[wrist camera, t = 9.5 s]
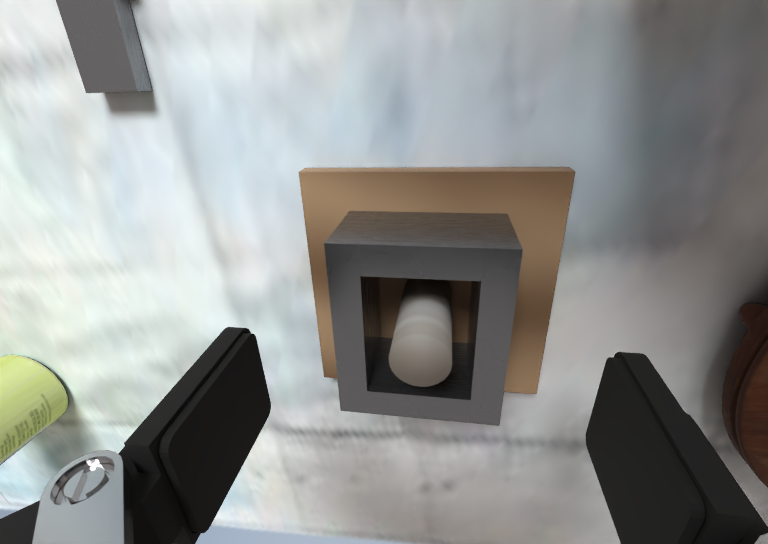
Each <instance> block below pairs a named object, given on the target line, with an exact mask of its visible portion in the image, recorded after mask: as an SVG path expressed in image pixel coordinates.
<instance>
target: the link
mask: <svg viewBox="0 0 768 544" xmlns="http://www.w3.org/2000/svg"><path fill="white" fill-rule="evenodd" d="M324 248H325V258H326V268H327V278H328V288H329V298H330V308H331V318H332V328H333V338H334V348H335V358H336V368H337V378H338V388H339V398H340V408H341V411H351V412H361V413H372V414H382V415H393V416H403V417H414V418H424V419H434V420H445V421H455V422H466V423H476V424H487V425H497V426H499V423H500V416H501V409H502V401H503V394H504V386H505V379H506V372H507V364H508V357H509V349H510V342H511V334H512V327H513V320H514V312H515V305H516V297H517V290H518V283H519V275H520V268H521V260H522V253H523V248H522V246H521V244H520V241H519V239H518V237H517V234H516V232H515V230H514V227H513V225H512V223H511V220H510V218H509V216H508V214H501V213H446V212H391V211H349V212H348V213H347V215H346V216H345V217H344V219H343V220H342V221H341V222H340V224H339V225H338V226H337V227H336V229H335V230H334V231H333V233H332V234H331V235H330V236H329V238H328V239H327V240H326V241H325V243H324ZM380 277H390V278H413V279H436V280H459V281H472V286H471V299H470V312H469V325H468V338H467V343H462V342H452V368H451V371H450V373H449V375H448V376H447V377H446V378H445V379H444V380H443V381H442V382H440V383H438V384H436V385H432V386H427V387H419V386H413V385H410V384H407V383H405V382H403V381H402V380H400V379H399V378H398V377H397V376H396V375H395V374H394V373H393V371H392V370H391V368H390V365H389V353H390V349H391V344H392V340H393V338H386V337H382V331H381V303H380Z"/></svg>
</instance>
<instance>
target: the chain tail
mask: <svg viewBox="0 0 768 544" xmlns="http://www.w3.org/2000/svg"><path fill="white" fill-rule="evenodd" d="M56 2H57V5H58V8H59V11H60V14H61V17H62V20H63V23H64V26H65V29H66V32H67V36H68V39H69V42H70V45H71V48H72V51H73V54H74V57H75V60H76V63H77V66H78V69H79V72H80V75H81V78H82V81H83V85H84V88H85V91H86V93H103V92H130V91H152V88H151V84H150V80H149V76H148V72H147V69H146V65H145V61H144V57H143V53H142V49H141V46H140V42H139V38H138V34H137V30H136V26H135V22H134V19H133V15H132V11H131V7H130V3H129V0H56Z"/></svg>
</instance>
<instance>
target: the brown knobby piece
mask: <svg viewBox="0 0 768 544" xmlns="http://www.w3.org/2000/svg"><path fill="white" fill-rule="evenodd" d="M740 314H741V318H742V321H743V323H744V324H745V326H746V327H747V329H748V331H747V333H746V334H745V336H744V337H743V339H742V340H741V342H740V344H739V346H738V348H737V350H736V351H735V353H734V355H733V358H732V360H731V363H730V365H729V367H728V370H727V374H726V377H725V381H724V385H723V394H722V413H723V418H724V424H725V427H726V430H727V432H728V435H729V438H730V439H731V441H732V443H733V445H734V447H735V448H736V450H737V451H738V452H739V454H740V455H741V456H742V458H743V459H744V460H745V461H746V463H747V464H748V465H749V466H750V467H751V469H752V470H753V471H754V473H755V474H756V475H757V477H758V478H759V479H760V480H761V481H762V482H763V483H764V484H765V485H766V486H767V487H768V306H766V305H761V304H755V303H748V304H745V305H743V306H742V307H741V309H740Z"/></svg>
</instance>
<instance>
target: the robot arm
mask: <svg viewBox="0 0 768 544" xmlns="http://www.w3.org/2000/svg"><path fill="white" fill-rule="evenodd" d="M270 409H271V402H270V398H269V393H268V389H267V384H266V380H265V375H264V371H263V367H262V362H261V358H260V353H259V349H258V344H257V340H256V336H255V335H254V334H251V333H250V331H249V329H247V328H235V327H227V328H225V329H224V330H223V331H222V333H221V334H220V335H219V336H218V337H217V338H216V339H215V340H214V342H213V343H212V344H211V345H210V346H209V347H208V348H207V350H206V351H205V352H204V353H203V354H202V355H201V356H200V358H199V359H198V360H197V361H196V362H195V363H194V364H193V366H192V367H191V368H190V369H189V370H188V371H187V372H186V374H185V375H184V376H183V377H182V378H181V379H180V380H179V381H178V383H177V384H176V385H175V386H174V387H173V388H172V389H171V391H170V392H169V393H168V394H167V395H166V396H165V397H164V399H163V400H162V401H161V402H160V403H159V404H158V405H157V407H156V408H155V409H154V410H153V411H152V412H151V413H150V414H149V416H148V417H147V418H146V419H145V420H144V421H143V422H142V424H141V425H140V426H139V427H138V428H137V429H136V430H135V432H134V433H133V434H132V435H131V436H130V437H129V438H128V440H127V441H126V442H125V443H124V444H125V447H124V448H123V449H122V450H121V451H120V453H119V454H117V453H116V452H113V451H109V450H105V451H96V452H93V453H89V454H86V455H84V456H82V457H80V458H78V459H76V460H74V461H72V462H71V463H69V464H68V465H66V466H65V467H63V468H62V469H61V470H60V471H59V472H58V473H57V474H55V475H54V476H53V477H52V478H51V480H50V481H49V482H48V484H47V485H46V487H45V488H44V491H43V493H42V496H41V499H40V501H38V502H36V503H34V504H31V505H29V506H27V507H25V508H23V509H21V510H19V511H17V512H14V513H12V514H10V515H8V516H6V517H4V518H2V519H0V544H195V543H196V541H197V539H198V537H199V535H200V534H201V533H204V532H206V531H207V530H208V529H209V527H210V525H211V524H212V522H213V520H214V518H215V516H216V514H217V512H218V510H219V509H220V507H221V505H222V503H223V501H224V499H225V497H226V495H227V494H228V492H229V490H230V488H231V486H232V484H233V482H234V480H235V478H236V477H237V475H238V473H239V471H240V469H241V467H242V465H243V463H244V462H245V460H246V458H247V456H248V454H249V452H250V450H251V448H252V446H253V445H254V443H255V441H256V439H257V437H258V435H259V433H260V431H261V430H262V428H263V426H264V424H265V422H266V420H267V418H268V416H269V414H270ZM586 445H587V449H588V452H589V454H590V457H591V460H592V463H593V466H594V469H595V471H596V474H597V477H598V480H599V483H600V485H601V488H602V491H603V494H604V497H605V500H606V502H607V505H608V508H609V511H610V514H611V517H612V519H613V522H614V525H615V528H616V531H617V533H618V536H619V539H620V542H621V544H768V527H767V525H766V524H765V523H764V521H763V520H762V518H761V517H760V515H759V514H758V512H757V511H756V509H755V508H754V507H753V505H752V504H751V502H750V501H749V499H748V498H747V496H746V495H745V493H744V492H743V491H742V489H741V488H740V486H739V485H738V483H737V482H736V480H735V479H734V477H733V476H732V475H731V473H730V472H729V470H728V469H727V467H726V466H725V464H724V463H723V461H722V460H721V459H720V457H719V456H718V454H717V453H716V451H715V450H714V448H713V447H712V445H711V444H710V443H709V441H708V440H707V438H706V437H705V435H704V434H703V432H702V431H701V429H700V428H699V426H698V425H697V424H696V422H695V421H694V420H693V419H692V417H691V416H690V415H688V414H687V413H685V412H684V411H683V409H682V408H681V406H680V405H679V403H678V402H677V400H676V399H675V397H674V396H673V394H672V393H671V391H670V390H669V388H668V387H667V385H666V384H665V382H664V381H663V379H662V378H661V377H660V375H659V374H658V372H657V371H656V369H655V368H654V366H653V365H652V363H651V362H650V360H649V359H648V357H647V356H646V355H644V354H640V353H625V352H618V353H616V354H615V356H614V358H611V357H610V358H608V359H607V361H606V364H605V367H604V371H603V374H602V378H601V382H600V385H599V389H598V392H597V396H596V400H595V403H594V407H593V410H592V414H591V418H590V421H589V425H588V428H587V432H586Z"/></svg>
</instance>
